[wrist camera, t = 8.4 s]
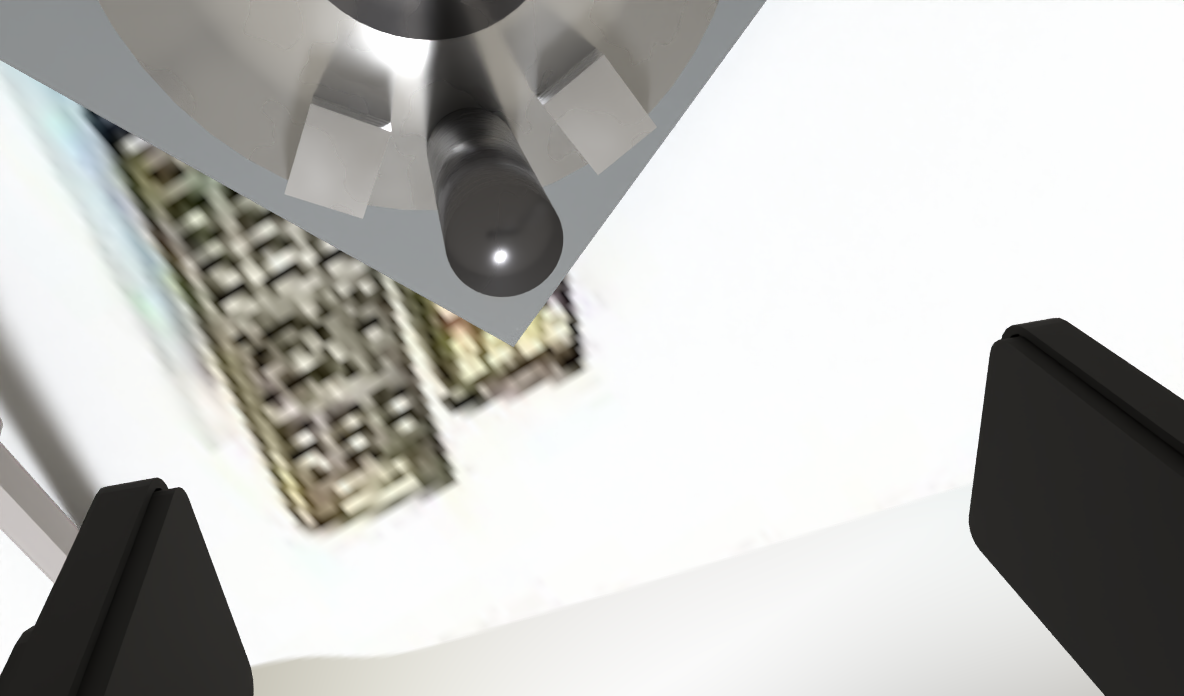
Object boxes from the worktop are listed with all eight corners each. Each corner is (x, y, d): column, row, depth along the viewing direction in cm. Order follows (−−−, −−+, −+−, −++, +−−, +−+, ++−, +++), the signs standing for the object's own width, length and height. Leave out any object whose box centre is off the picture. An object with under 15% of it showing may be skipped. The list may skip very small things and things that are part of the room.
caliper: (-144, 222, 27) (-273, 311, 22) (-106, 211, 27) (-226, 295, 22) (182, 685, 37) (149, 826, 32) (209, 676, 37) (181, 814, 32)
